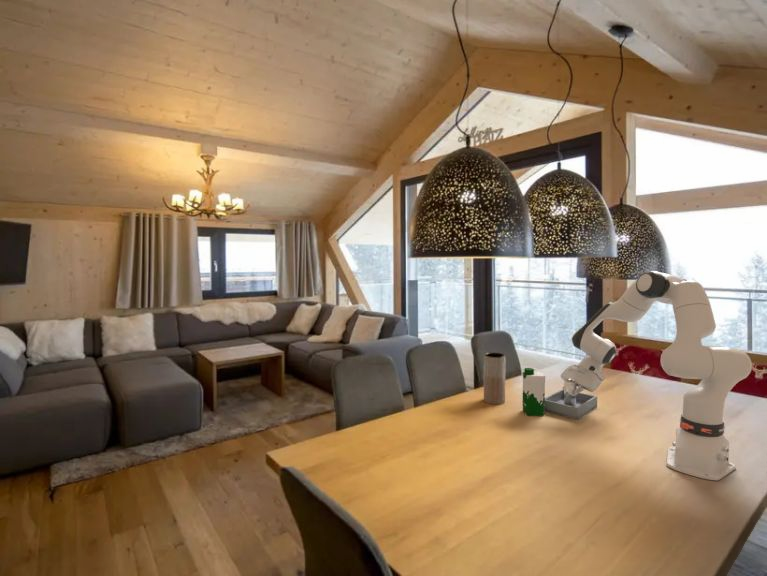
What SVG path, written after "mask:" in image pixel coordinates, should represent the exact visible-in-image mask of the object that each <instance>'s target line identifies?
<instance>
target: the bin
mask: <svg viewBox="0 0 767 576" xmlns="http://www.w3.org/2000/svg"><path fill="white" fill-rule="evenodd" d="M597 407H598V396H597V395H593V394H588V393H583V392H579V393H578V394H577V395H576V406H575V407H573V406H569V405H565V404H564V389H563V388H562V389H560V390H558V391H556V392H554V393H552V394H550V395H549V396H545V405H544V412H546V413H551V414H554V415H558V416H562V417H566V418H570V419H574V420H579V419H581V418H582V417H585V416H586V415H587V414H589V413H590V412H591V411H593V410H595V409H596V408H597Z"/></svg>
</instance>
